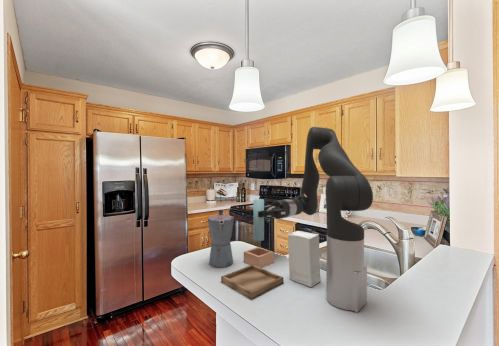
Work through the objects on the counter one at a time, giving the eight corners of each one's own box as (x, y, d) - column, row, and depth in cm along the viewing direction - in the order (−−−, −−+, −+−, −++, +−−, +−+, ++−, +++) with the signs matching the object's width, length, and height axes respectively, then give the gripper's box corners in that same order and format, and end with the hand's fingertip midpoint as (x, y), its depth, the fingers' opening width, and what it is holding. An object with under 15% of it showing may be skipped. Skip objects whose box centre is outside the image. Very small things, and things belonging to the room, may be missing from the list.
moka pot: (209, 272, 80) (209, 213, 80) (206, 256, 95) (206, 206, 95) (236, 269, 82) (236, 212, 82) (229, 254, 97) (230, 205, 97)
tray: (283, 283, 73) (283, 277, 73) (251, 299, 63) (251, 293, 63) (252, 269, 83) (252, 264, 83) (221, 282, 73) (221, 276, 73)
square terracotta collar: (273, 262, 89) (273, 251, 89) (258, 268, 84) (258, 257, 83) (258, 256, 95) (258, 246, 95) (243, 262, 89) (243, 251, 89)
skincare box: (320, 282, 74) (321, 234, 74) (310, 288, 70) (310, 238, 69) (298, 273, 80) (298, 229, 80) (287, 279, 76) (287, 232, 75)
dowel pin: (266, 239, 89) (266, 199, 89) (258, 241, 86) (258, 200, 86) (258, 237, 92) (258, 198, 92) (251, 239, 89) (251, 199, 89)
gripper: (270, 198, 104) (241, 201, 92) (297, 201, 94) (268, 205, 82) (270, 215, 104) (241, 220, 92) (297, 220, 94) (268, 227, 82)
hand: (254, 213), depth 87 cm, fingers closed on dowel pin, 4 cm apart
